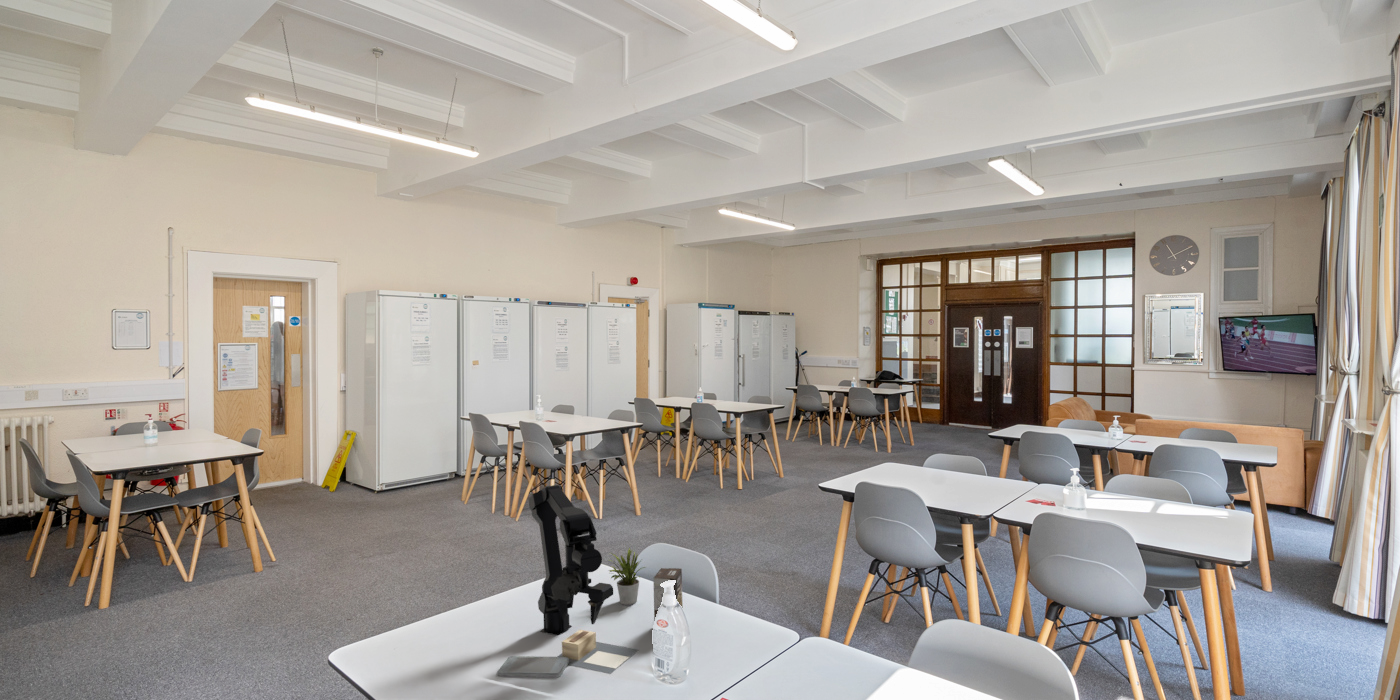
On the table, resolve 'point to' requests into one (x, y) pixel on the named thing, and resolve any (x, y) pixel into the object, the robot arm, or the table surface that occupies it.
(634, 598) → the house plant
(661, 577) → the coffee box
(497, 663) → the table surface
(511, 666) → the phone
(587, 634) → the cream block with stripe
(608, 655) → the mat
